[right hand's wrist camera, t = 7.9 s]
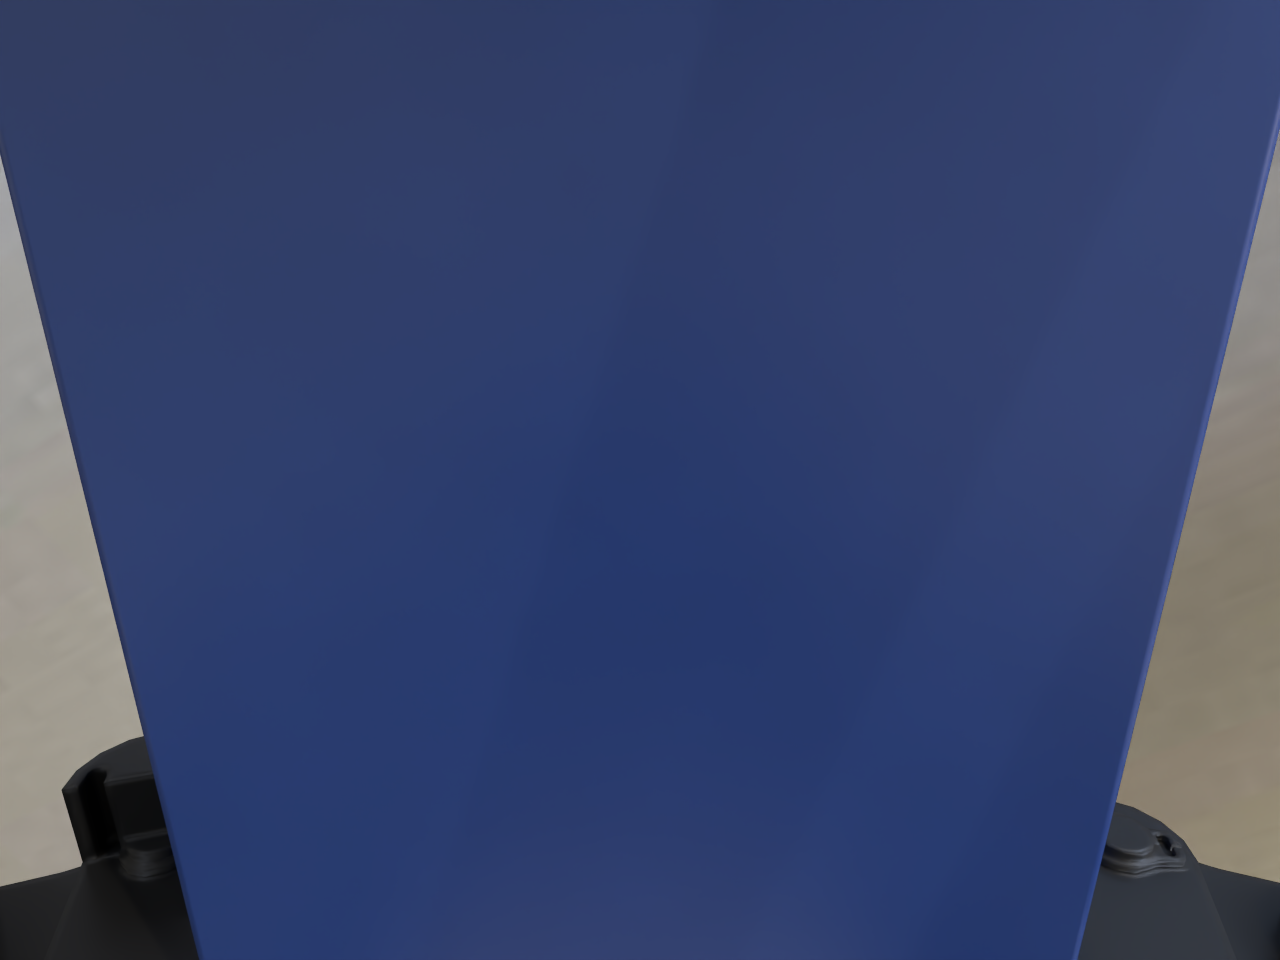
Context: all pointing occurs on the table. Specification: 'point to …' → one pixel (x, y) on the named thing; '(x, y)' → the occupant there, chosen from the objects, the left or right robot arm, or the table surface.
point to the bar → (637, 448)
